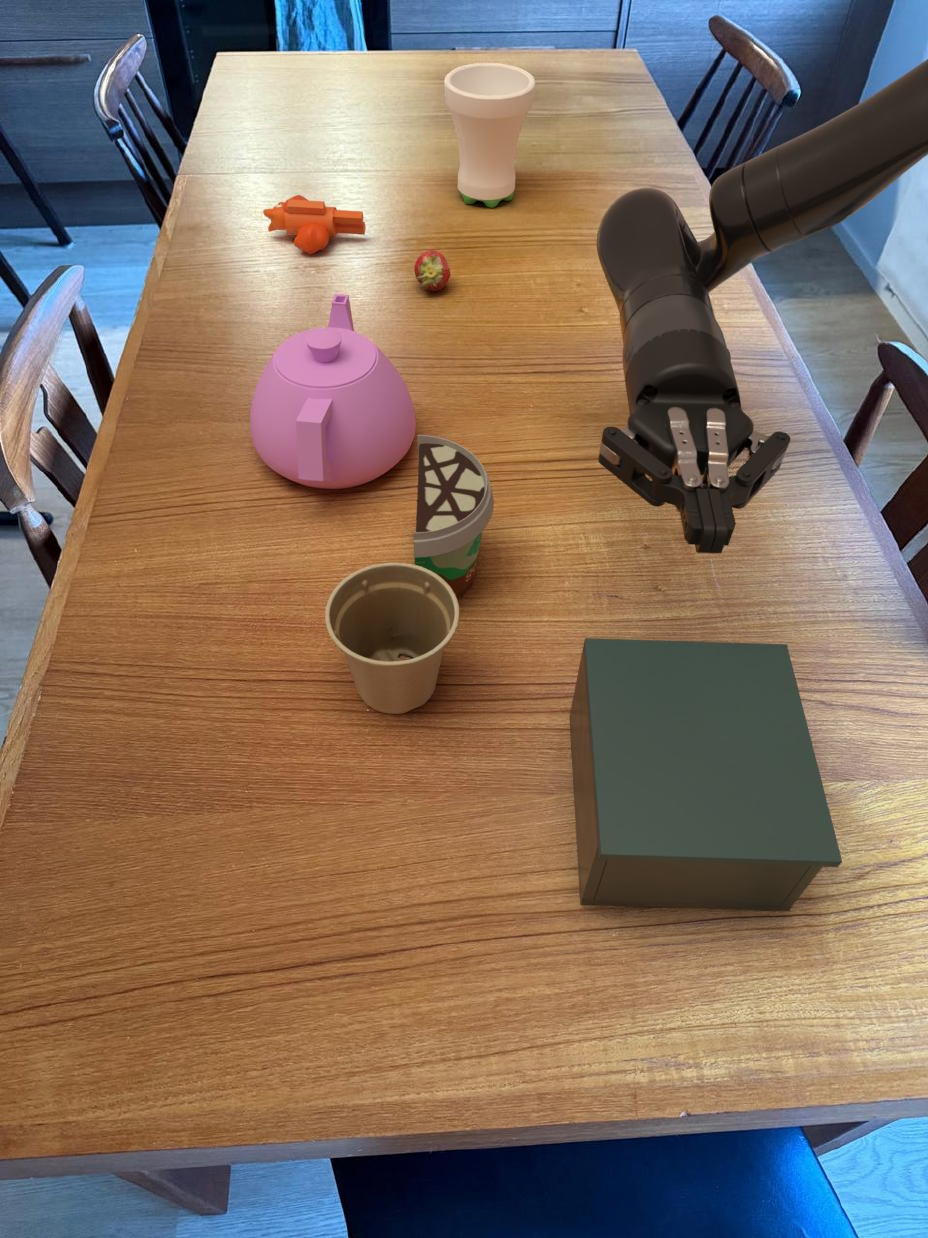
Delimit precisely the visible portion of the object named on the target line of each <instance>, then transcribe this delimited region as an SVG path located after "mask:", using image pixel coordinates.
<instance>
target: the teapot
mask: <svg viewBox="0 0 928 1238" xmlns="http://www.w3.org/2000/svg"><path fill="white" fill-rule="evenodd" d="M332 298H333V299H332V300H331V308H330V314H329V321H328V324H327V327H316V328H311V329H306V330H303V331H300V332H298V333H295V334H293V335H291V336H289V337H288V338H286V339H285V340H284V341H283V342H282V343H280V344H279V346H278V347H277V348H276V349H275V351H274V352H273V354H272V355H271V357H270V358H269V360H268V362H267V364H266V366H265V367H264V369H263V371H262V373H261V375H260V377H259V379H258V382H257V384H256V387H255V389H254V392H253V396H252V401H251V407H250V413H249V414H250V422H249V423H250V425H249V426H250V430H249V431H250V436H251V442H252V445H253V447H254V449H255V452H256V453H257V455H258V456H259V457H260V459H261V460H262V461H263V463H265V465H266V466H267V467H268V468H270V469H271V470H272V471H274V472H275V473H277V474H279V475H280V476H282V477H284V478H286V479H288V480H290V481H292V482H294V483H297V484H300V485H302V486H306V487H309V488H314V489H323V490H324V489H325V490H339V489H347V488H348V489H349V488H354V487H358V486H361V485H364V484H367V483H370V482H372V481H374V480H376V479H378V478H379V477H381V476H383V475H384V474H385V473H387V472H388V471H390V470H391V469H392V468H394V466H395V465H397V464H398V463H399V462H400V461H401V460H402V459H403V458H404V457H405V456H406V454H407V453H408V452H409V449H411V445H412V444H413V442H414V439H415V435H416V430H417V428H416V427H417V420H416V412H415V407H414V404H413V400H412V396H411V394H410V391H409V389H408V387H407V385H406V382H405V380H404V379H403V376H402V375H401V374H400V372H399V370H398V369H397V368H396V367H395V365H394V363H392V361H391V360H390V359H389V357H387V356H386V355H385V353H384V352H383V351H382V350H381V349H380V348H379V347H378V346H377V345H376V344H375V343H374V342H373V341H372V340H371V339H369V338H368V337H367V336H365V335H363V334H361V333H359V332H357V331H355V328H354V327H355V326H354V321H353V315H352V308H351V301H350V295H349V294H344V293H343V294H342V293H334V296H333V297H332Z"/></svg>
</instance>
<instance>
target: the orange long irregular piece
mask: <svg viewBox="0 0 928 1238" xmlns="http://www.w3.org/2000/svg"><path fill="white" fill-rule="evenodd" d="M262 214H263V215H264V217H266V218H268V220H270V223H269V224H268V229H267V231H268V232H274V231H285V232H286V234H287V235H290V236H295V238H294V240H293V245H294V247H296V248H297V249H300V251H304V252H305V253H307V254H309V255H312V254H315V253H316V252H317V251H319V250H324V249H325V248H327V245H328V244H329V241H331V238H337V236H338V234H344V235H345V234H347V235H363V236H365V234H366V221H364V211H361V210H347V209H345V210H344V209H338V208H337V207H336V206H326V203H325V201H324V200H323V201H322V200H309V199H307V198H306V197H305V196H303V195H301V194H296V195H294V196H292V197H290V198H287V199H286V200H285V202H284V201H279V202H278V203H277V204H276V205H275V206H273V207H272V208H265V209H263V212H262Z"/></svg>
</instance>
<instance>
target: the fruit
mask: <svg viewBox="0 0 928 1238" xmlns="http://www.w3.org/2000/svg"><path fill="white" fill-rule="evenodd" d="M413 270H414V276H415V280H417V281H418V283H419V284H420V287H419V288H420V290H422V291H425V290H427V291H431V292H437V291H440V290H443V289H444V288H445V287H446V285H447V284H448V283H449V280H450V278H451V269H450V267H449V265H448V260H447V258H446V257H445V256H444V255H443V253H441V252H439V251H437V250H433V249H429V250H427V251H425V252H423V253H422V254H421V255H419V256H418V258H417V259H416V261H415V263H414V269H413Z"/></svg>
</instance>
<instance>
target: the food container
mask: <svg viewBox="0 0 928 1238" xmlns="http://www.w3.org/2000/svg"><path fill="white" fill-rule="evenodd" d="M417 473H418V474H417V497H416V498H417V499H416V516H415V522H416V523H415V532H413V533H412V534H413V558H414V565H417V566H421V567H423V568H426V569H428V570H430V571H432V572H434V573H436V574H437V575H438V576H440V577H441V578H442V579H443V580H445V582H446V583H447V584H448V585H449V586H450V587H451V588H452V590H453V592H454V593H455V596H456V598H457V600H459V599H461V598H462V597H464V596H465V595H466V593H467V592H468V591H469V590H470V588H471V587H472V586H473V584H474V581H475V578H476V574H477V570H478V569H477V568H478V562H479V556H480V549H481V542H482V534H483V531H484V530H485V529H486V527H487V526H488V524H489V522H490V520H491V519H492V515H493V512H494V507H495V506H494V505H495V499H494V493H493V489H492V484H491V480H490V477H489V476H488V472H487V470H486V469H485V467H484V465H483V464H482V462H481V461H480V459H478V457H477V456H476V455H475V454H474V453H473V452H471V451H470V450H469V449H467V448H466V447H464V446H462V445H461V444H459V443H457V442H455V441H452V440H450V439H447V438H443V437H439V436H435V435H428V434H417Z"/></svg>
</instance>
